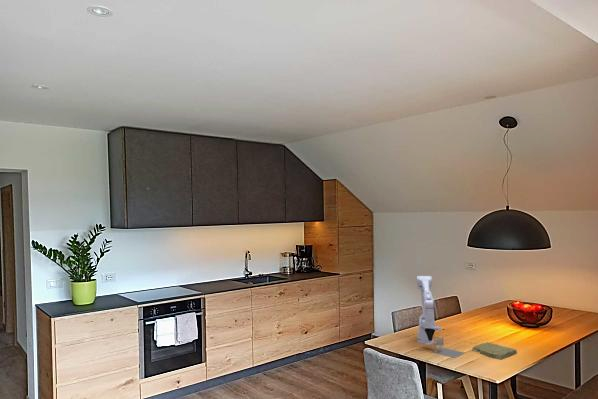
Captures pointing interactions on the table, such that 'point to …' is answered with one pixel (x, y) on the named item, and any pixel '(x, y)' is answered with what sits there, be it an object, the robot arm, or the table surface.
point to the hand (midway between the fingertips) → (430, 340)
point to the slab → (438, 344)
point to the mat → (449, 353)
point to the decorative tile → (494, 350)
